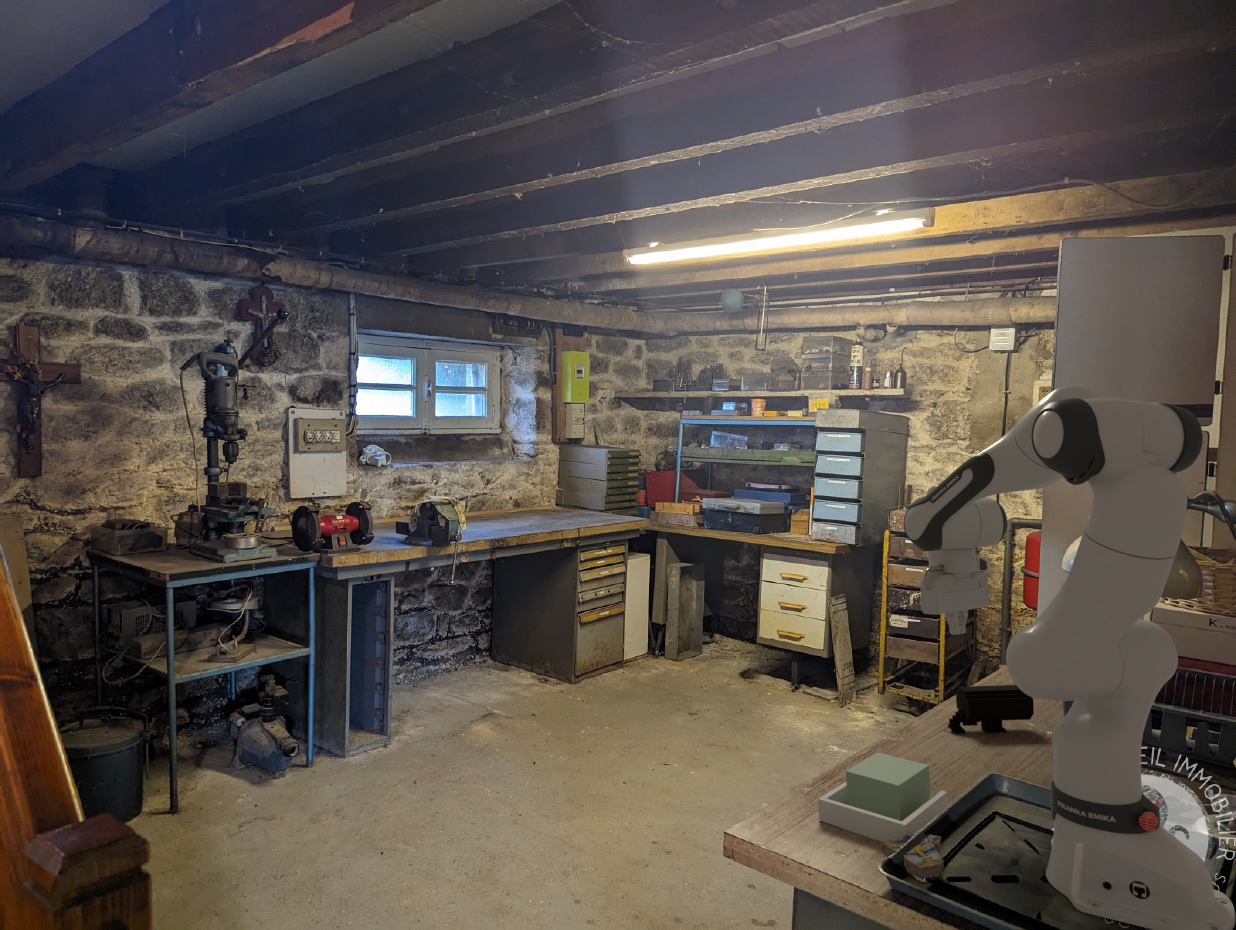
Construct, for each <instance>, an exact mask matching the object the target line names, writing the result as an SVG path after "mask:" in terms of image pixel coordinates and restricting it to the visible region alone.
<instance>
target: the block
mask: <svg viewBox="0 0 1236 930" xmlns="http://www.w3.org/2000/svg"><path fill="white" fill-rule="evenodd" d="M845 777H846V778H845V779H846V780H845V782H846V783H847V805H849V806H853V807H856V808H859V809H863V810H866V811H869V812H872V813H876V814H879V815H882V816H886V817H889V818H892V819H895V820H899V821H903V820H904V819H906V818H907V817H908V816H909V815H911V814H912V813H913V812H915V811H916V810H917V809H918V808H920V807H921V806H922V805H923V804H925V803H926V802H927V801H929V800H930V799H931V785H930V784H931V780H930V779H931V778H930V765H929V764H926V763H923V762H922V763H921V762H917V761H914V760H911V759H905V758H902V757H898V756H893V755H890V754H885V753H882V752H876V753H875V754H873V755H871V756H869V757H868V758H866V759H864V760H863V761H861V762H859V763H857V764H856V765H853V766H852V767H850V768H849V769H847V770H846V771H845Z"/></svg>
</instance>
